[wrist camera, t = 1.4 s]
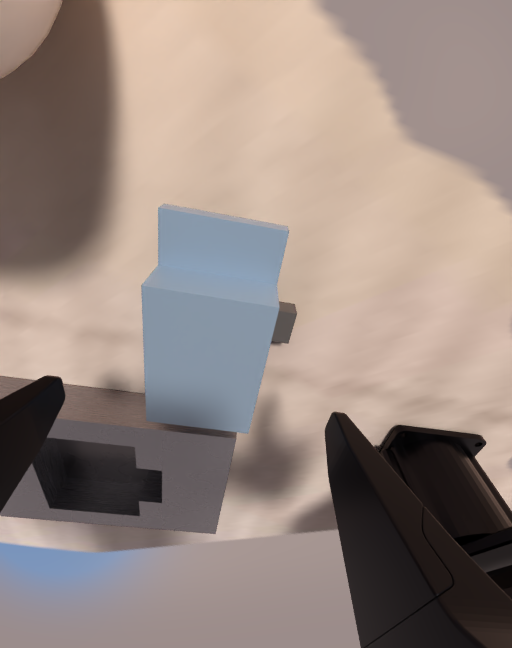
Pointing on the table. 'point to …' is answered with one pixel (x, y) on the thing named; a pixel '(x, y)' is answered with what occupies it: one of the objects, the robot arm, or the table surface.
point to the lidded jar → (23, 30)
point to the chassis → (122, 466)
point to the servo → (211, 317)
